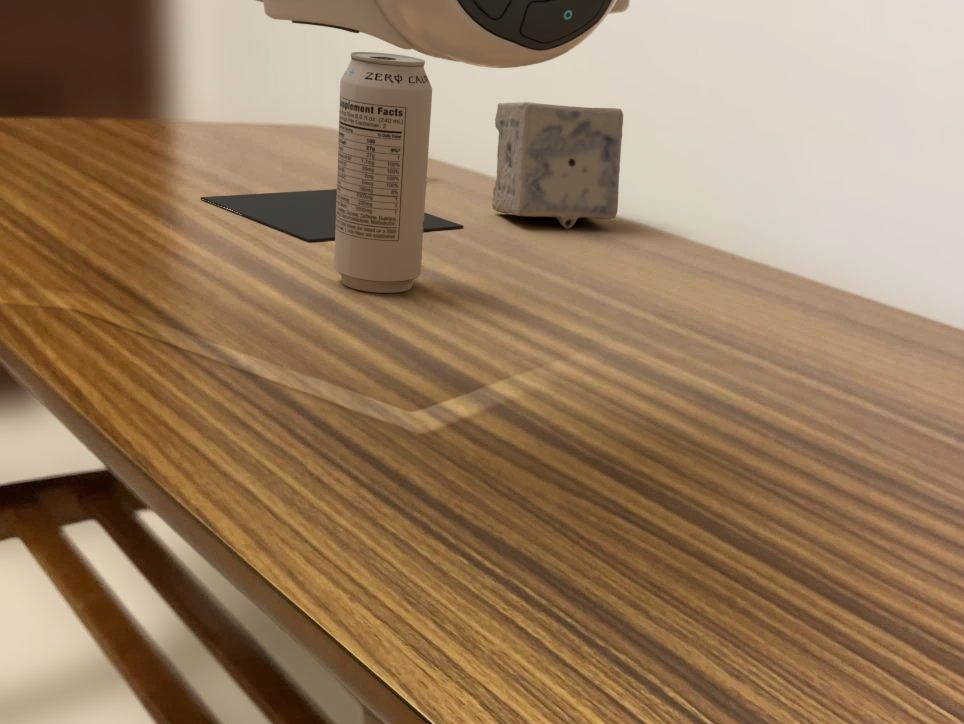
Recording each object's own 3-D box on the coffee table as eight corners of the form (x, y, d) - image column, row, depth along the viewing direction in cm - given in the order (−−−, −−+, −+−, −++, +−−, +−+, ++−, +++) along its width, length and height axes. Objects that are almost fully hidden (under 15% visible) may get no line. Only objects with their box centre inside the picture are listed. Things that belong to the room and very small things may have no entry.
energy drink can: (436, 286, 88) (452, 63, 81) (381, 300, 83) (393, 63, 77) (372, 268, 91) (382, 50, 84) (315, 280, 86) (321, 50, 79)
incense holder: (581, 211, 119) (594, 98, 114) (617, 231, 112) (633, 111, 107) (485, 208, 115) (495, 91, 110) (515, 229, 108) (528, 104, 104)
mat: (308, 242, 96) (308, 239, 96) (200, 199, 106) (200, 197, 106) (463, 227, 106) (463, 225, 106) (352, 190, 116) (352, 188, 116)
